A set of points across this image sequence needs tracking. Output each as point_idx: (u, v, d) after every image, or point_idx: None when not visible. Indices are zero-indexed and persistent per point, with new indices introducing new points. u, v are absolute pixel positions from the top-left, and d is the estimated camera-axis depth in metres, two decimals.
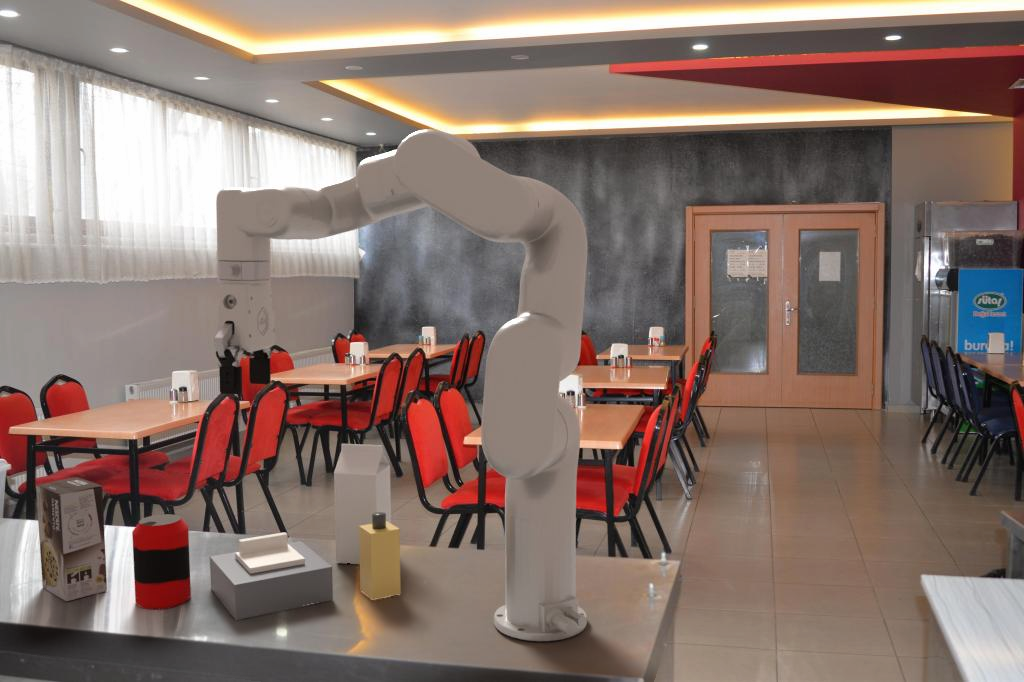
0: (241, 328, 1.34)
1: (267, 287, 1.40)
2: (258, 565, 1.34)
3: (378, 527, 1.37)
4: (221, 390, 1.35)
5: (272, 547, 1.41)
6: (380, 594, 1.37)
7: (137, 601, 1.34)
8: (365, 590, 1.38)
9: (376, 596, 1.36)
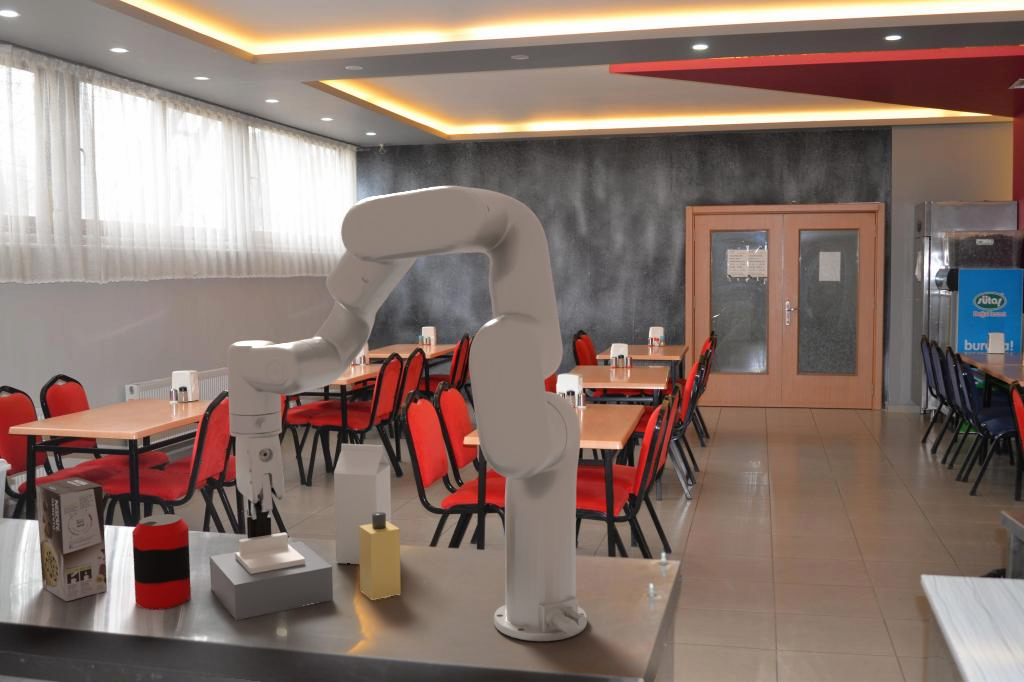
0: (279, 478, 1.38)
1: None
2: (258, 565, 1.34)
3: (378, 527, 1.37)
4: None
5: (272, 547, 1.41)
6: (380, 594, 1.37)
7: (137, 601, 1.34)
8: (365, 590, 1.38)
9: (376, 596, 1.36)
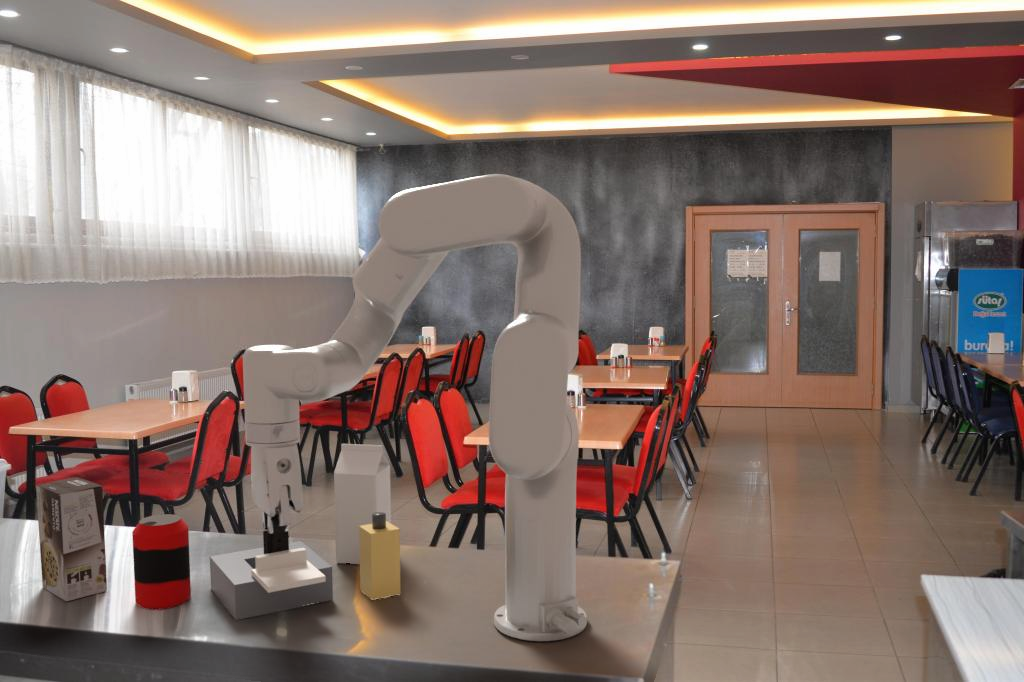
0: (297, 490, 1.31)
1: None
2: (276, 583, 1.27)
3: (378, 527, 1.37)
4: None
5: (290, 563, 1.33)
6: (380, 594, 1.37)
7: (137, 601, 1.34)
8: (365, 590, 1.38)
9: (376, 596, 1.36)
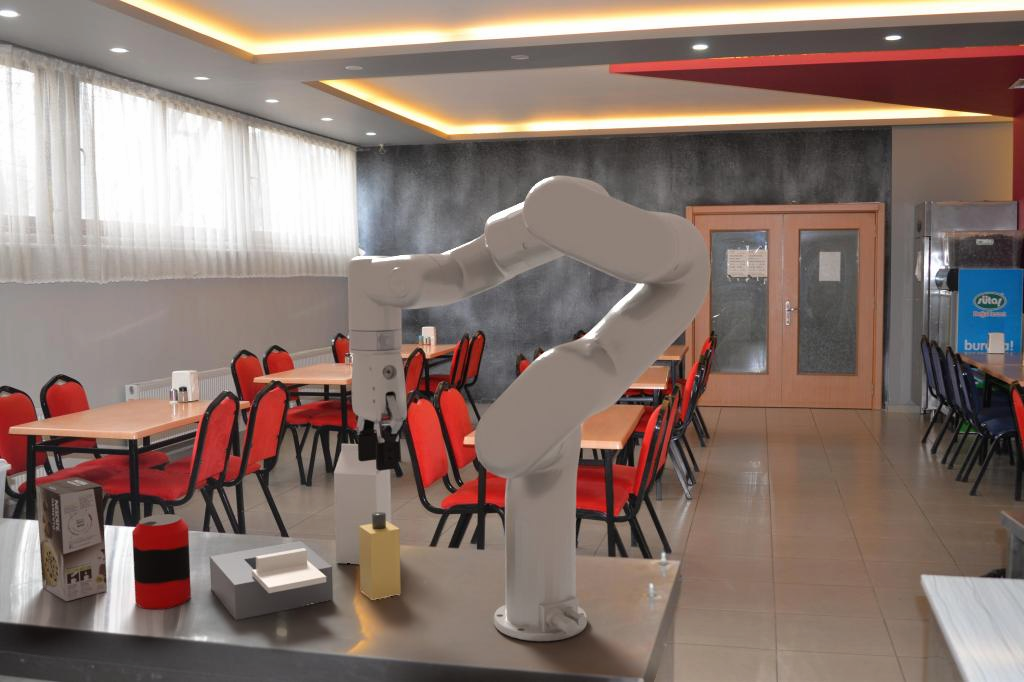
0: (402, 397, 1.33)
1: None
2: (277, 584, 1.26)
3: (378, 527, 1.37)
4: (379, 467, 1.33)
5: (291, 564, 1.33)
6: (380, 594, 1.37)
7: (137, 601, 1.34)
8: (365, 590, 1.38)
9: (376, 596, 1.36)
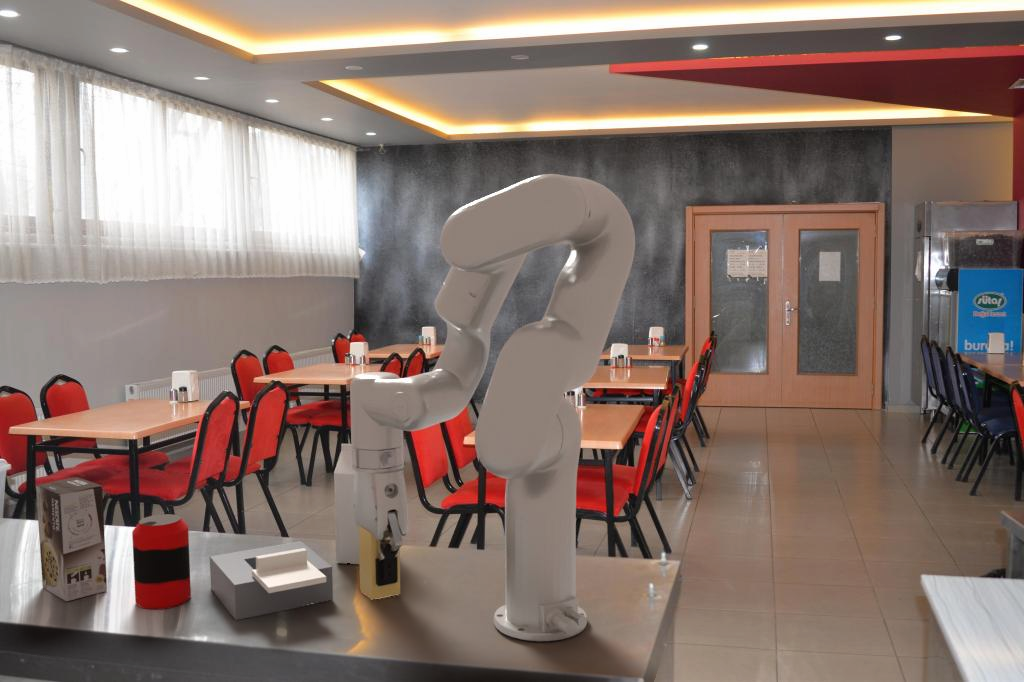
0: (404, 514, 1.35)
1: None
2: (277, 584, 1.26)
3: None
4: (379, 583, 1.36)
5: (291, 564, 1.33)
6: (380, 594, 1.37)
7: (137, 601, 1.34)
8: (365, 590, 1.38)
9: (376, 596, 1.36)
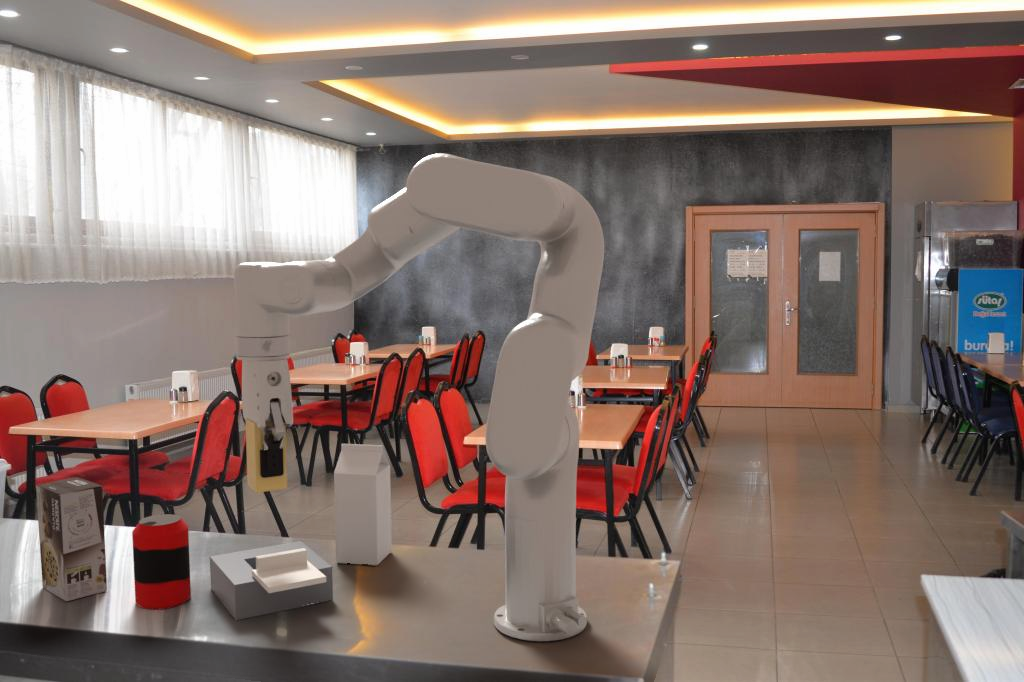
0: (287, 404, 1.33)
1: None
2: (277, 584, 1.26)
3: None
4: (263, 474, 1.34)
5: (291, 564, 1.33)
6: (265, 486, 1.35)
7: (137, 601, 1.34)
8: (251, 483, 1.36)
9: (261, 488, 1.34)
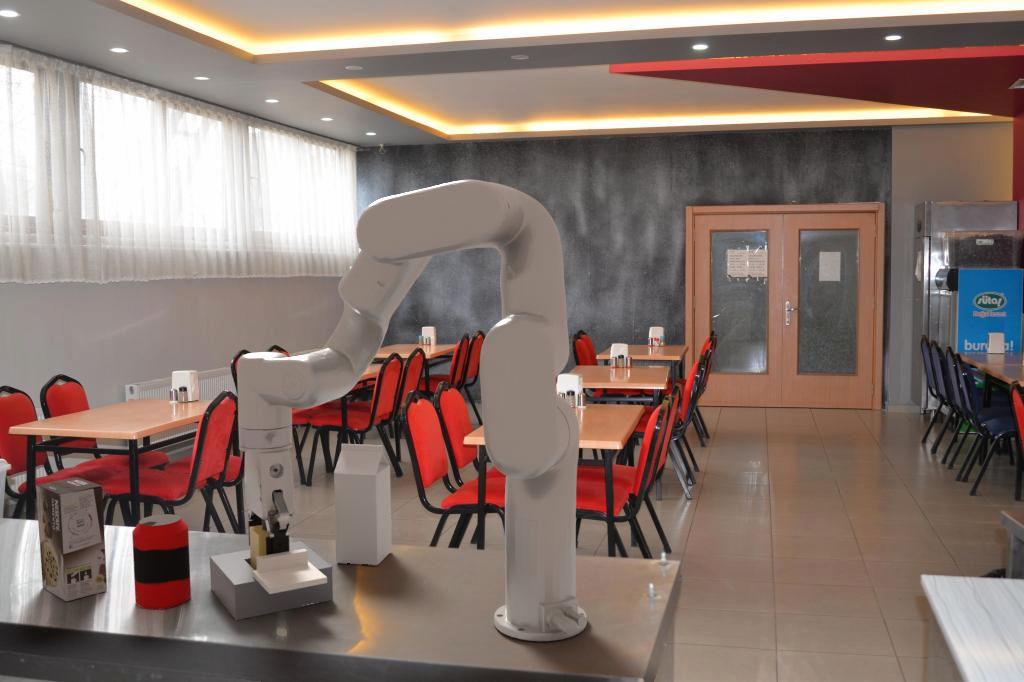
0: (289, 495, 1.34)
1: None
2: (278, 585, 1.26)
3: None
4: None
5: (291, 565, 1.33)
6: None
7: (137, 601, 1.34)
8: None
9: None
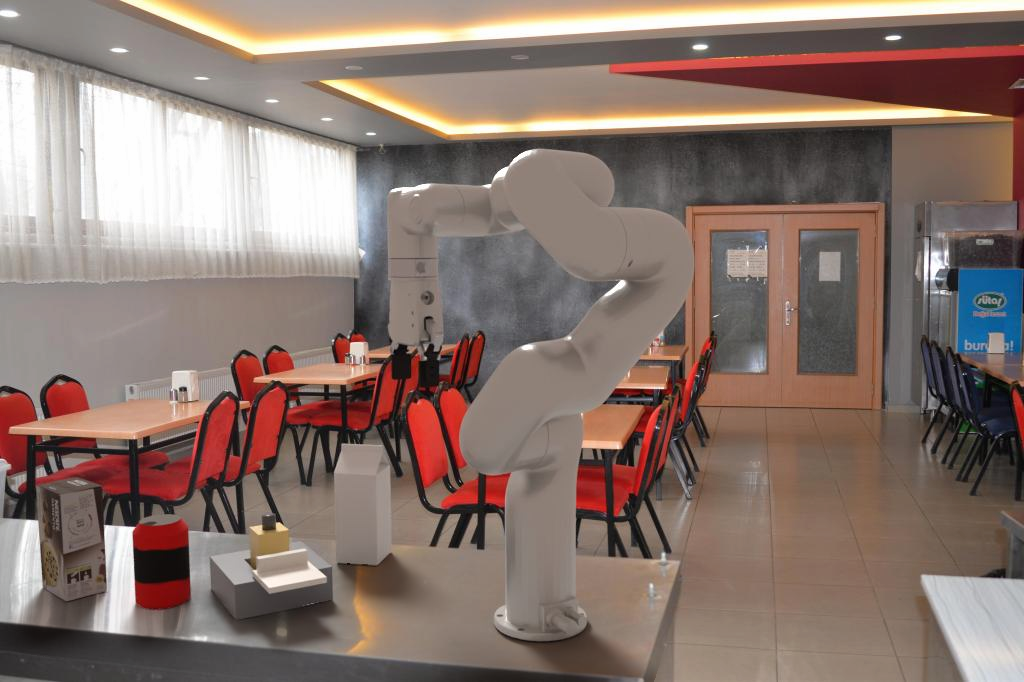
0: (439, 322, 1.39)
1: None
2: (277, 584, 1.26)
3: (267, 528, 1.37)
4: (421, 384, 1.38)
5: (291, 564, 1.33)
6: None
7: (137, 601, 1.34)
8: None
9: None
